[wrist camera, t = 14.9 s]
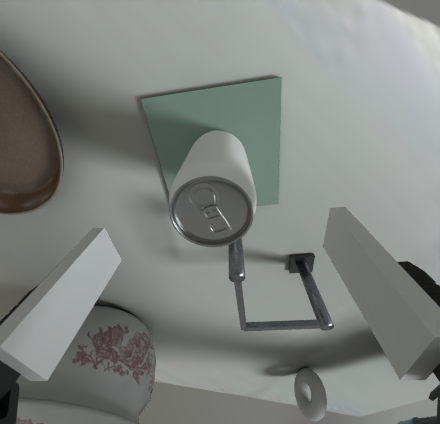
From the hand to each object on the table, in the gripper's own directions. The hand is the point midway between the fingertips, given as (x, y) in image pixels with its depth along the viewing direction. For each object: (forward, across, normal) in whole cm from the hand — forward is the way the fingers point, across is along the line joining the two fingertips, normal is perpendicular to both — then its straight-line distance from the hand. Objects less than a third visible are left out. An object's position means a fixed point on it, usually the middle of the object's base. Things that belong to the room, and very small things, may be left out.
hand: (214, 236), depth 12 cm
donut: (+16, -15, +60) cm, 64 cm away
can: (+14, 0, 0) cm, 14 cm away
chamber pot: (+15, +29, +34) cm, 48 cm away
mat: (+14, 0, 0) cm, 14 cm away
